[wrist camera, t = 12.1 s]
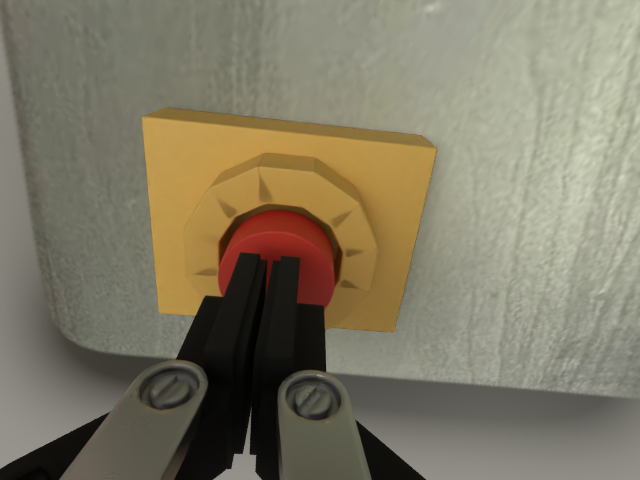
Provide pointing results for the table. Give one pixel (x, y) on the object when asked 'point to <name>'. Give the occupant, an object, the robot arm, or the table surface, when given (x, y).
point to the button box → (285, 203)
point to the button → (285, 252)
